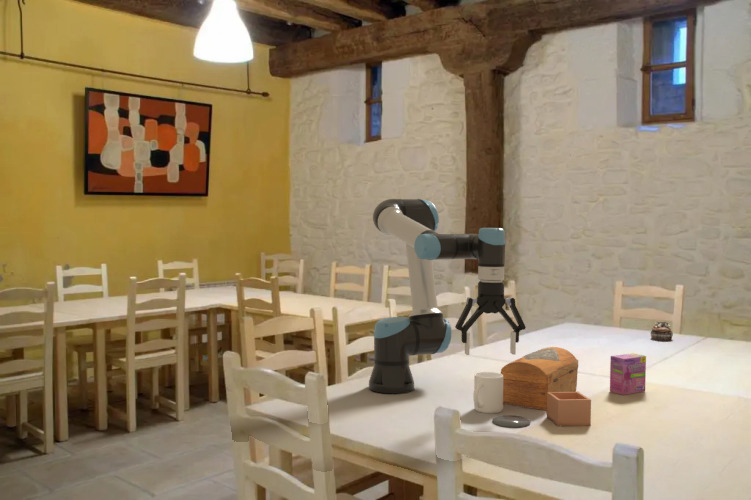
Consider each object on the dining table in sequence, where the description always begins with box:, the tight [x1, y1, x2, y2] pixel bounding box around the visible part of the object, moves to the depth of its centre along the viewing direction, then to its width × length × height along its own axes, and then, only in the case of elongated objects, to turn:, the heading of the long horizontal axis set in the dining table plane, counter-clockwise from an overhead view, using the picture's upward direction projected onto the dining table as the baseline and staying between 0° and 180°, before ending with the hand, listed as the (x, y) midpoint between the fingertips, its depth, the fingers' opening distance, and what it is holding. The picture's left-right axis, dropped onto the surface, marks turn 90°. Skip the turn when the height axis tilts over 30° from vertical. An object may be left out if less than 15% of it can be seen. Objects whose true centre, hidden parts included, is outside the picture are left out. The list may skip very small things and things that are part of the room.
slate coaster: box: [492, 414, 531, 429], centre depth 187 cm, size 10×10×1 cm
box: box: [609, 352, 647, 396], centre depth 223 cm, size 10×6×12 cm, turn 117°
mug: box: [473, 371, 504, 414], centre depth 198 cm, size 12×8×10 cm
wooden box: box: [500, 346, 579, 411], centre depth 216 cm, size 30×16×14 cm, turn 146°
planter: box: [546, 391, 592, 427], centre depth 188 cm, size 9×9×7 cm
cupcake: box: [650, 321, 674, 342], centre depth 317 cm, size 10×10×10 cm
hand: (490, 354), depth 199 cm, fingers open, 13 cm apart
